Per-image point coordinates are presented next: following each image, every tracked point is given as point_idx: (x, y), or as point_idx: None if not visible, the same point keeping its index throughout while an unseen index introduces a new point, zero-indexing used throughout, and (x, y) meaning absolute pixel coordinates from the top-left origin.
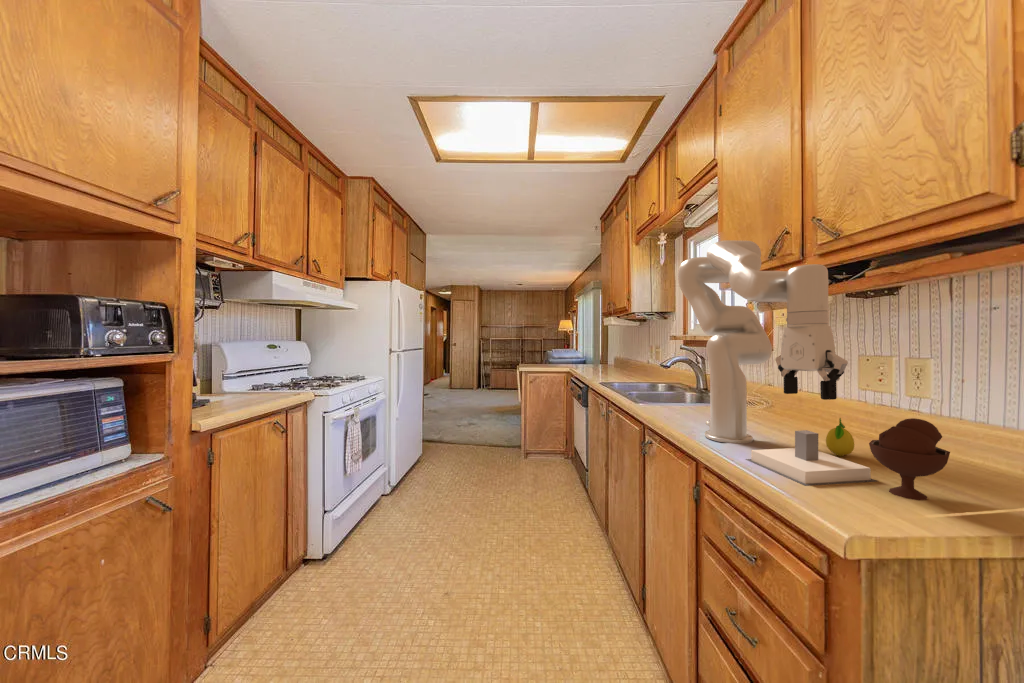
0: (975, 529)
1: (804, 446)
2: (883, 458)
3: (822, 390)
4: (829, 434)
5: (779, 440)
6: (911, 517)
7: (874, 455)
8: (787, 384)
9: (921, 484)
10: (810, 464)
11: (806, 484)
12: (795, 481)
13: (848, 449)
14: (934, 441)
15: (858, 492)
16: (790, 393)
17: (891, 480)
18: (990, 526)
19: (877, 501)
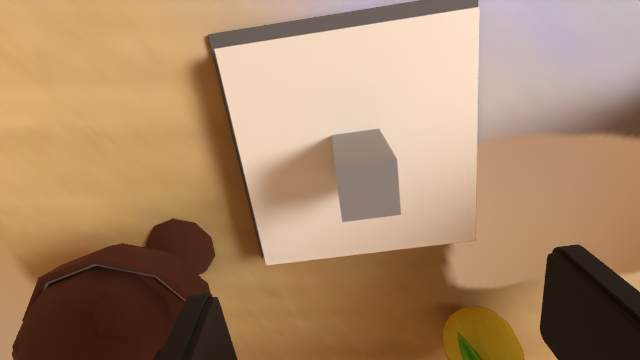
0: (22, 230)
1: (340, 148)
2: (114, 245)
3: (167, 344)
4: (500, 343)
5: None
6: (51, 159)
7: (162, 253)
8: (607, 316)
9: (261, 329)
10: (293, 121)
11: (218, 46)
12: (243, 29)
13: (443, 336)
14: None
15: (192, 160)
16: (551, 284)
17: (283, 294)
18: (46, 266)
19: (136, 160)
